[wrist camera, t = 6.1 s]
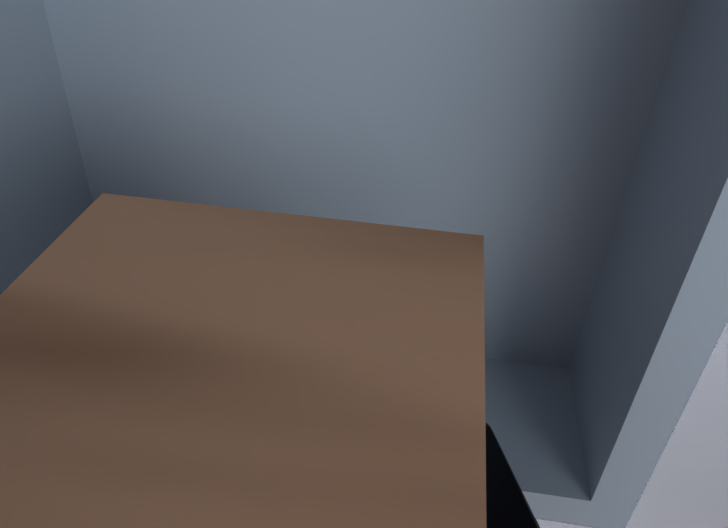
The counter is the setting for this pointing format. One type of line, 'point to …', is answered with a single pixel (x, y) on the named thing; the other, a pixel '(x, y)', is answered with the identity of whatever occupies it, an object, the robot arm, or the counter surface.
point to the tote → (427, 177)
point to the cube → (243, 373)
